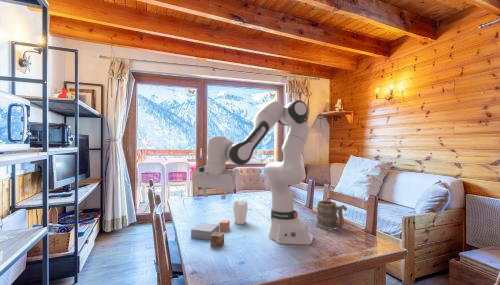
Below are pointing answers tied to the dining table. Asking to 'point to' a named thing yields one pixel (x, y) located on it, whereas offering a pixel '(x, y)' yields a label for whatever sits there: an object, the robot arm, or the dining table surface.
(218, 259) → the dining table surface
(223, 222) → the terracotta cube
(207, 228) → the plinth
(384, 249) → the dining table surface
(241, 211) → the cup
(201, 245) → the dining table surface
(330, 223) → the tankard
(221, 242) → the walnut cube
